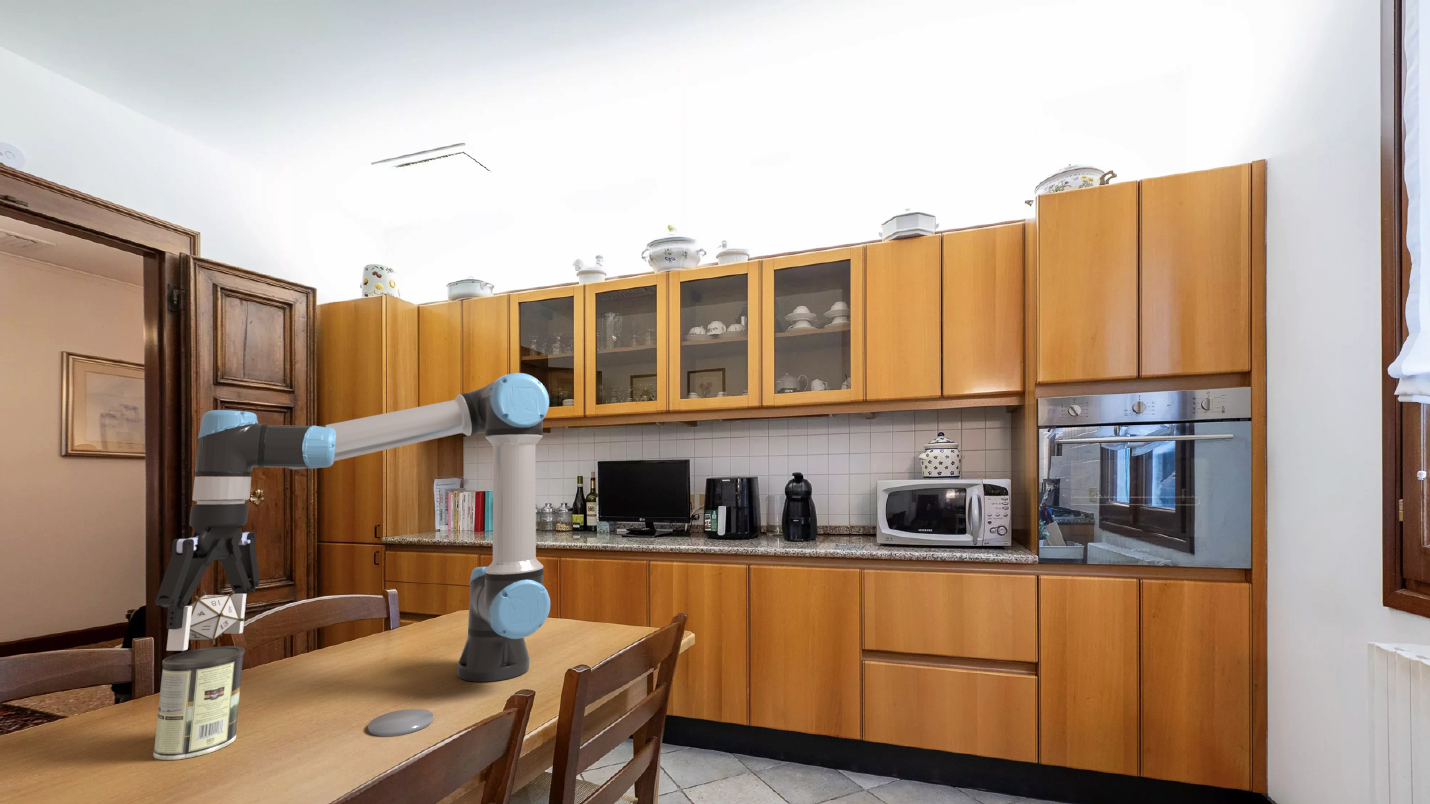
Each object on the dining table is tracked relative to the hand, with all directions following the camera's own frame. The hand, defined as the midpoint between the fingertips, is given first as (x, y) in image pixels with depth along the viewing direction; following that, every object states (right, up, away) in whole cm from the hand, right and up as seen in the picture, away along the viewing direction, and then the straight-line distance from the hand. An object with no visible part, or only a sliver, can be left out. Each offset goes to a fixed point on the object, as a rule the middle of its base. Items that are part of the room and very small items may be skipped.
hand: (206, 641), depth 99 cm
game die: (0, 0, 0) cm, 0 cm away
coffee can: (0, -16, -2) cm, 16 cm away
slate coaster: (+28, -17, +7) cm, 34 cm away
